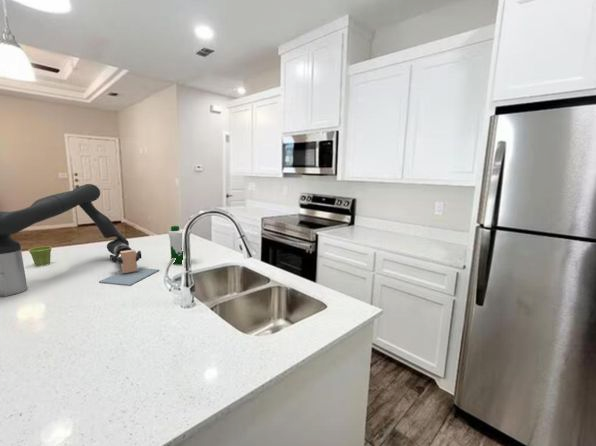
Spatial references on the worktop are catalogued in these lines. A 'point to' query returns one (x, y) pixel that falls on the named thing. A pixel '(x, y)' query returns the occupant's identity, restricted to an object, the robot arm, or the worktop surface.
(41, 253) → the plant pot
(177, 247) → the milk carton
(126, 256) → the terracotta block
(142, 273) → the mat
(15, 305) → the worktop surface
